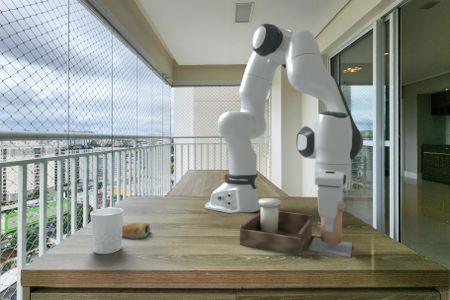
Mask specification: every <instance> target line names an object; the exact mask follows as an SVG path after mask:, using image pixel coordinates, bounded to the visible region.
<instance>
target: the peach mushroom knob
mask: <svg viewBox="0 0 450 300" xmlns="http://www.w3.org/2000/svg"><path fill="white" fill-rule="evenodd" d="M345 209H346V203H345V202H344V201H342V202H341V201H340V203H339V205H338V212H337V215H336V217H335V219H334V229H333V232H328V231H326V224H325V218H321V217H320V238H321V241H323V242H325V243H328V244H340V243H341V242H343V210H344V211H345Z"/></svg>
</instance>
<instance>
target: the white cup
mask: <svg viewBox="0 0 450 300" xmlns="http://www.w3.org/2000/svg"><path fill="white" fill-rule="evenodd" d="M90 226H91V227H90V228H91V238H92V240H91V241H92V245H93V249H92V250H93V253H95V254H97V255H108V254H113V253H116V252H118V251H120V250H121V249H122V244H123V243H122V242H123V240H122V238H123V236H122V230H123V226H124V209H123V208H120V207H104V208H103V207H102V208H98V209H94V210H92V211H90Z"/></svg>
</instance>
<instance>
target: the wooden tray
mask: <svg viewBox="0 0 450 300" xmlns="http://www.w3.org/2000/svg"><path fill="white" fill-rule="evenodd" d="M260 221H261V208H260V209H259V210H258V213H256V214H255V215H253V216H252V217H251V218H249V219H248V220H246V221H245V222H243V223H242V224H240V229H239V245H241V246H247V247H250V248H251V247H252V248H258V249H263V250H267V251H268V250H269V251H273V252H280V253H286V254H291V255H297V256H301V255H302V254H303V252H304V250H305V248H306V247H307V245H308V243H309V241H310V239H311V238H312V236H313V214H308V213H305V214H304V213H299V212H291V211H290V212H289V211H281V210H279V211H278V234H272V233H265V232H260Z"/></svg>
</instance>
